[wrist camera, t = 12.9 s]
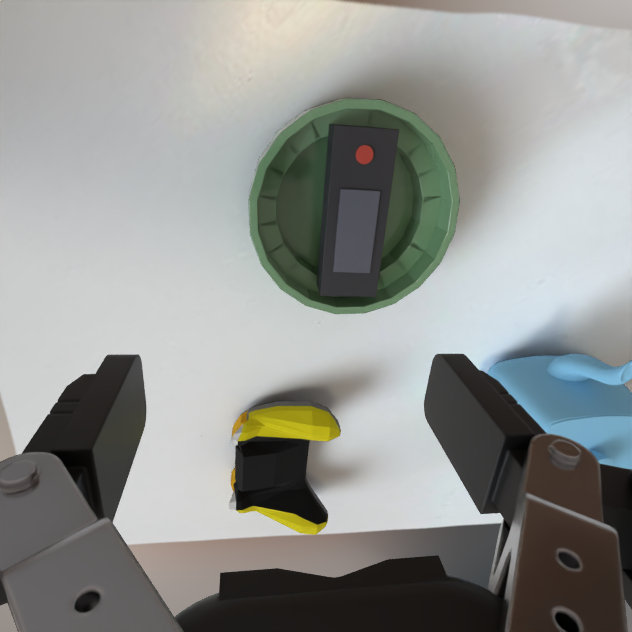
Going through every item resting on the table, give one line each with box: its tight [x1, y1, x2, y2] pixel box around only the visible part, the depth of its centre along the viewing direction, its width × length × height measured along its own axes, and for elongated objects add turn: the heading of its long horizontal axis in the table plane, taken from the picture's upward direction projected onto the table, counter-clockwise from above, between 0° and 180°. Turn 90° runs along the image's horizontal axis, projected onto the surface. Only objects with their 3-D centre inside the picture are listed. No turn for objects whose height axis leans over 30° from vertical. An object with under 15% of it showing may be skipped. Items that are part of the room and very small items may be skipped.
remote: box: [317, 124, 399, 297], centre depth 32 cm, size 12×4×3 cm, turn 176°
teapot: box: [488, 354, 632, 470], centre depth 41 cm, size 12×18×12 cm
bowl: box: [249, 98, 460, 314], centre depth 33 cm, size 15×15×5 cm
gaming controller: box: [229, 401, 341, 535], centre depth 43 cm, size 15×6×10 cm
